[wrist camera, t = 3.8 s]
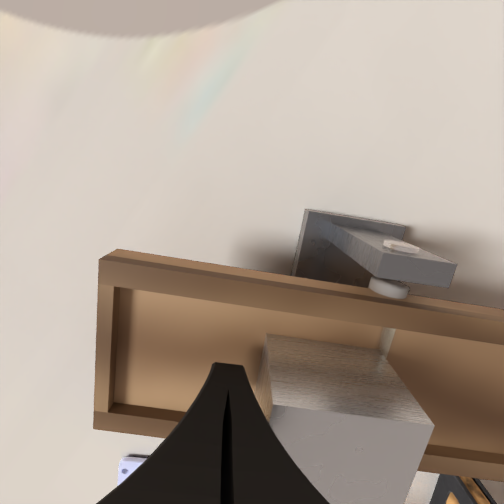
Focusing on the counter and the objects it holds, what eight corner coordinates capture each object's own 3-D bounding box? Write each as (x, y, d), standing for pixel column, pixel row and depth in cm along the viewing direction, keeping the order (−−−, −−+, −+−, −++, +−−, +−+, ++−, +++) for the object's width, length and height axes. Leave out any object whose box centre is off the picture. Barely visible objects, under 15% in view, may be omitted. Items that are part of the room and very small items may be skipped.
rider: (353, 430, 14) (393, 528, 10) (249, 416, 14) (249, 512, 10) (379, 349, 13) (434, 425, 9) (266, 333, 13) (273, 404, 9)
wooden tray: (543, 454, 17) (590, 499, 14) (116, 396, 16) (93, 436, 13) (618, 314, 14) (689, 341, 12) (125, 236, 13) (99, 249, 11)
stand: (346, 394, 22) (399, 504, 15) (267, 385, 21) (281, 495, 14) (397, 224, 19) (498, 257, 11) (305, 208, 18) (348, 233, 11)
